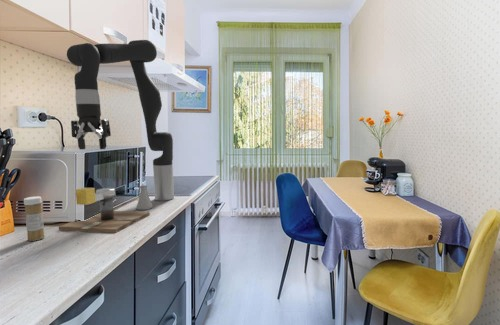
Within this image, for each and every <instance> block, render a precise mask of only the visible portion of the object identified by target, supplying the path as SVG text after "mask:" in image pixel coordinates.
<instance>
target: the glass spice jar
mask: <svg viewBox="0 0 500 325" xmlns="http://www.w3.org/2000/svg"><path fill="white" fill-rule="evenodd" d="M113 198H114V197H113ZM113 198H107V199H102V200H99V211H101V220H111V219H114V211H115V210H114V199H113Z"/></svg>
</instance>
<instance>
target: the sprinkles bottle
mask: <svg viewBox="0 0 500 325" xmlns="http://www.w3.org/2000/svg"><path fill="white" fill-rule="evenodd" d="M42 202H43V199H42V197H41V196H28V197H24V198H23V205H24V210H25V212H24V213H25V223H26V232H27V241H30V242H35V241H36V240H37V241H40V240H43V239H45V230H44V228H45V226H44V216H43V215H44V214H43V208H42Z"/></svg>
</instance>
